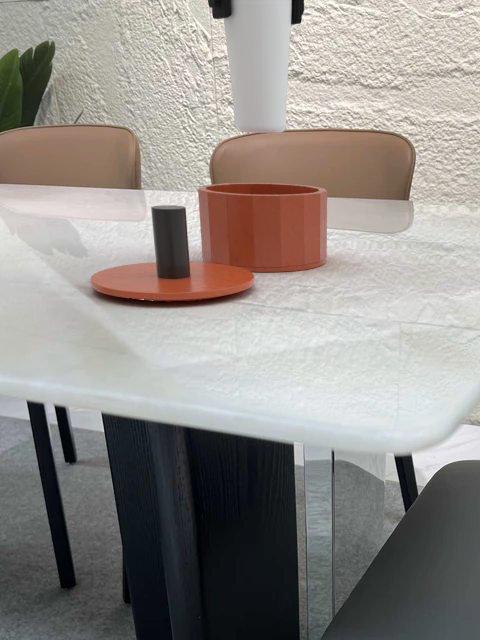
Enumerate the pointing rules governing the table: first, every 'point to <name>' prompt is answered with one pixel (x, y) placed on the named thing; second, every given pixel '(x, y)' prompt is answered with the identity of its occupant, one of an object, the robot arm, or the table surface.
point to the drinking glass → (259, 63)
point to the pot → (263, 226)
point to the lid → (172, 268)
